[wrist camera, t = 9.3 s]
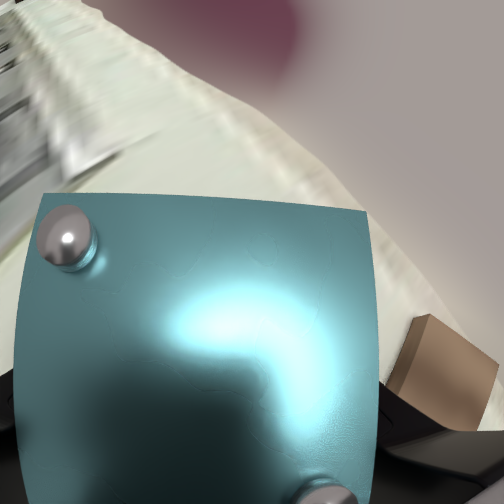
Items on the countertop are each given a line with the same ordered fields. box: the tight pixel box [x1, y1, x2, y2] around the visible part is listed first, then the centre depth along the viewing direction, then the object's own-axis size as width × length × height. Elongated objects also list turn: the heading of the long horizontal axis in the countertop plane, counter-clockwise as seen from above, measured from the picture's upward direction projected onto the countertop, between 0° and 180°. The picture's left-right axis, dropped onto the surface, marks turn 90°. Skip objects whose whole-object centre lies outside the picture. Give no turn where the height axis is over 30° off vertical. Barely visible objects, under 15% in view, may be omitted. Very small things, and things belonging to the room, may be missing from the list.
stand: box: [386, 314, 499, 431], centre depth 17 cm, size 10×10×2 cm
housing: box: [13, 193, 379, 504], centre depth 8 cm, size 5×5×11 cm
